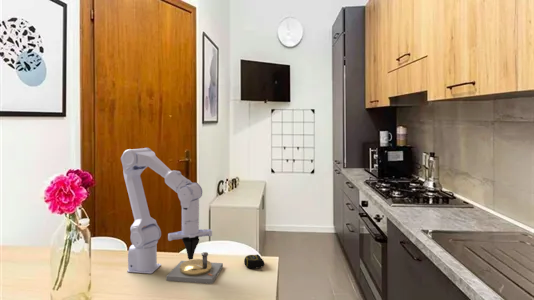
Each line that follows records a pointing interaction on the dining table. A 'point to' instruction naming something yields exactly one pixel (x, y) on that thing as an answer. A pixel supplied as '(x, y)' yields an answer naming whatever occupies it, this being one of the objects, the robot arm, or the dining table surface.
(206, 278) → the stand
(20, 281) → the dining table surface
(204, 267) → the brass disc with crank
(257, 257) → the tape measure
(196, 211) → the robot arm
